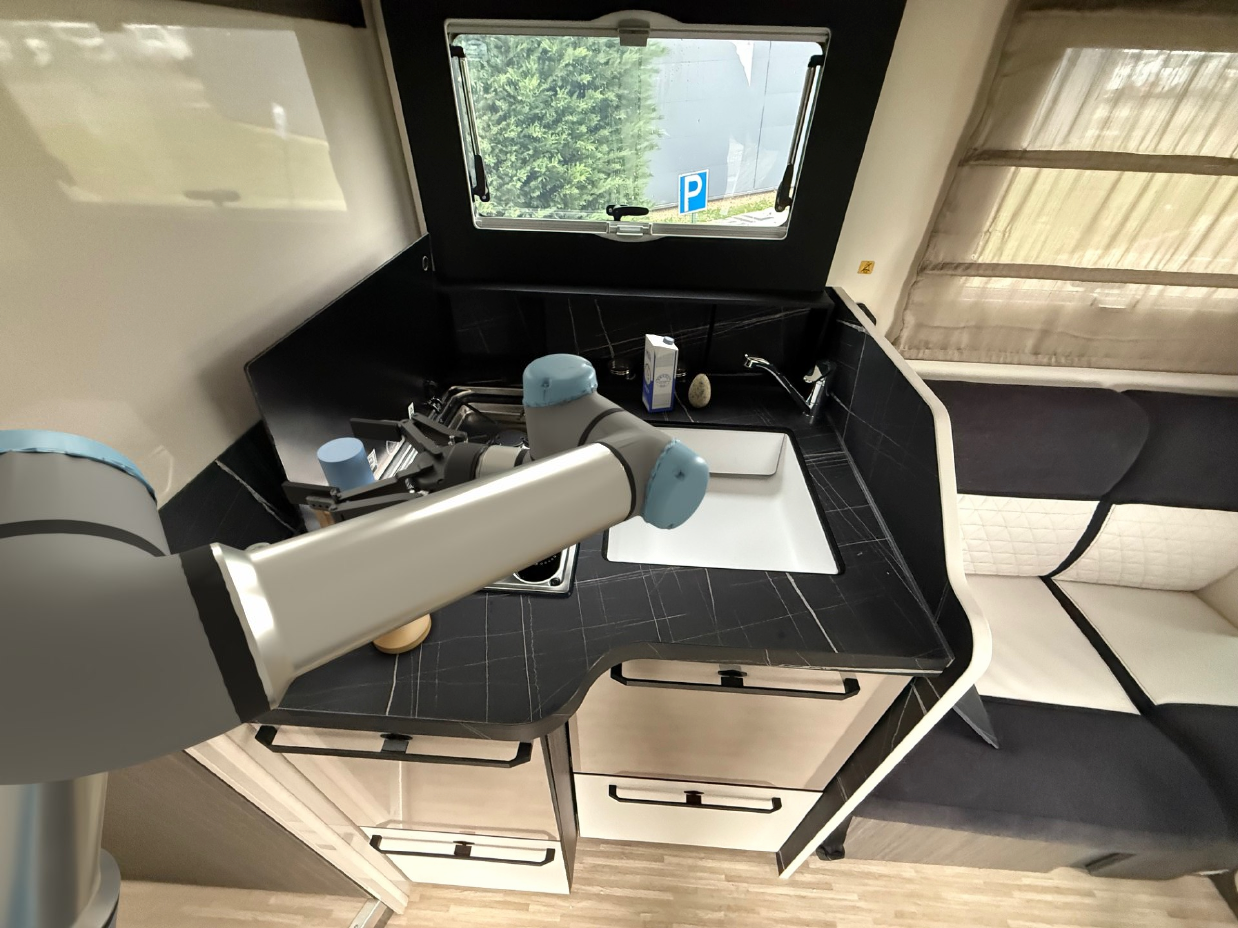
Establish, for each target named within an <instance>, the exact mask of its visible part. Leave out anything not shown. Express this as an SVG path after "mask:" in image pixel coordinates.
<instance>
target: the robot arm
mask: <svg viewBox="0 0 1238 928" xmlns="http://www.w3.org/2000/svg"><path fill="white" fill-rule="evenodd" d="M522 383H523V384H522V387H523V388H522V389H523V390H522V391H523V398H522V406H523V410H524V417H525V425H526V432H527V439H528V446H529V448H524V447H516V446H507V445H498V444H493V445H490V446H489V445H487V444H485V443H478V442H477V443H476V442H469V439H468V434H467V432H466V431H462V430H456V429H452V428H450V427H448V426H446V425H444V424H442V423H440V422H438V421H436V420H434V419H431V418H429V417H428V416H426V415H424V414H421V413H419V412H413V413H411V414H410V418H409V419H408V418H406V419H405V418H404V419H401V420H400V421H399V420H388V419H382V420H377V419H367V418H358V417H351V418H350V419H349V420H348V423H349V425H350V428H351V431H352V434H353V438H356V439H363V440H364V439H365V440H374V441H385V442H392V443H393V442H394V443H401V442H402V440H404V442H405V443H408V444H409V445H410V446H411V447H412V448H413V449H414V451H416V452H417V453H416V455H415V456H414V459H413V461H412V462H411V463H409V464H408V465H407V466H406V467H405V469H401V470H398V471H396V472H395V474H394V475H393V476H390V477H387V478H384V479H379V480H380V481H377V482H374V483H370V484H367V485H364V486H360V487H357V488H354V489H351V490H347V491H344V492H341V491H340V489H339V487H332V486H328V485H322V484H315V483H313V484H312V483H305V482H298V481H290V480H289V481H288V480H285V481H284V482H283V483H282V484H281V487H282V490H283V492H284V495H286V497H287V500H288V502H289V503H290V504H294V505H295V504H296V505H303V506H309V508H310V509H311V510H313V511H314V510H320V511H321V510H322V511H328V512H329V513H330V515H331V518H332V520H333V522H334V525H331V526H328V527H325V528H319V529H316V530H312V531H310V532H306V533H303V534H299V535H296V536H294V537H291V538H287V539H284V540H281V541H278V542H275V543H272V544H270V545H268V546H265V547H262V548H259V549H256V550H253V551H245V550H242V549H238V548H235V547H233V546H230V545H227V544H223V543H220V542H213V543H210V544H205V545H202V546H199V547H195V548H192V549H189V550H186V551H185V550H184V551H182V552H179V553H174V554H172V553H171V551H170V547H169V544H168V541H167V537H166V534H165V531H164V528H163V524H162V520H161V517H160V514H159V510H158V498H157V496H156V490H155V489H154V487H152V486H151V484H150V482H149V480H148V479H147V478H146V477H145V475H144V474H143V472H142V471H141V469H140V468H139V467H138V466H137V465H136V464H135V463H134V462H133V461H132V460H131V459H130V458H128V457H127V456H125V455H124V454H122V453H121V452H119V451H118V450H116V449H114V448H112V447H111V446H109V445H107V444H105V443H102V442H100V441H97V440H94V439H93V438H92V439H91V438H88V437H86V436H82V435H78V434H73V433H69V432H63V431H57V430H48V429H36V428H35V429H32V428H31V429H30V428H28V429H27V428H23V429H22V428H19V429H18V428H17V429H16V428H15V429H1V430H0V928H117V919H118V911H119V902H120V894H121V893H120V891H121V884H122V881H121V880H122V876H121V871H120V868H119V865H118V863H117V861H116V859H115V857H114V856H113V855H112V854H111V853H110V852H109V851H108V850H106V849H105V848H102V847H101V846H102V837H103V829H104V828H103V827H104V818H105V809H106V808H105V807H106V797H107V788H108V780H109V779H108V777H109V772H112V771H116V770H120V769H125V768H129V767H130V768H131V767H133V766H137V765H140V764H144V763H147V762H150V761H153V760H156V759H160V758H163V757H165V756H169V755H172V754H175V753H178V752H181V751H185V750H188V749H190V748H192V747H196V746H198V745H200V744H203V743H205V742H207V741H210V740H212V739H215V738H217V737H219V736H221V735H224V734H227V733H228V732H230V731H233V730H234V729H237V728H238V727H240V726H242V725H245V724H246V723H248V722H251V721H252V720H254V719H256V718H259V717H260V716H262V715H264V714H266V713H268V712H270V711H272V710H275V709H276V708H278V707H279V706H280V704H281V702H282V700H283V698H284V697H285V695H286V693H287V691H288V690H289V687H290V685H291V684H292V683H293V682H294V680H296V678H298V677H300V676H302V675H304V674H306V673H308V672H310V671H312V670H314V669H316V668H319V667H320V666H323V665H325V664H327V663H329V662H331V661H333V660H335V659H338V658H339V657H342V656H344V655H345V654H348V653H350V652H352V651H354V650H356V649H359V648H361V647H363V646H365V645H367V644H370V643H371V642H373V640H375V639H378V638H380V637H382V636H384V635H386V634H388V633H390V632H392V631H394V630H396V629H399V628H401V627H403V626H405V625H407V624H409V623H411V622H413V621H415V620H417V619H420V618H422V617H424V616H426V615H428V614H429V615H430V614H432V613H434V612H436V611H438V610H440V609H443V608H445V607H447V606H450V605H451V604H453V603H455V602H457V601H460V600H462V599H464V598H465V597H468V596H470V595H472V594H474V593H476V592H478V591H480V590H482V589H485V588H487V587H489V586H491V585H494V584H495V583H497V582H500V581H502V580H503V579H505V578H508V577H510V576H512V575H515V574H516V573H518V572H520V571H523V570H525V569H526V568H529V567H531V566H533V565H535V564H537V563H539V562H541V561H544V560H546V559H548V558H550V557H552V556H554V555H556V554H558V553H560V552H563V551H565V550H567V549H569V548H572V547H573V546H575V545H578V544H580V543H582V542H584V541H586V540H588V539H590V538H592V537H594V536H596V535H598V534H601V533H602V532H605V531H607V530H609V529H611V528H613V527H615V526H617V525H619V524H622V523H624V522H627V521H629V520H632V519H634V518H636V517H641V519H642V520H643V521H644V522H645V523H646V524H650V525H652V526H654V527H655V528H657V529H660V530H668V531H670V530H673V529H677V528H678V527H680V526H682V525H683V524H684V523H686V522H687V521H688V520H689V519H691V517H692V516H693V515H694V514H695V513H696V511H698V509H699V507H700V506H701V504H702V502H703V501H704V498H705V496H706V493H707V490H708V486H709V482H710V469H709V465H708V463H707V461H706V460H705V459H704V458H703V456H701V455H700V454H698V453H697V452H695V450H692V449H691V448H689V446H687V445H685V444H684V443H682V441H681V440H680V439H679V438H677V437H672V436H670V435H669V434H667V433H665V432H664V431H662V430H660V429H658V428H656V427H655V426H653V425H651V424H649V423H648V422H646V421H644V420H643V419H641V418H639V417H638V416H636V415H634V414H632V413H630V412H629V411H628V410H626V409H624V408H623V407H622V406H620V405H618V404H616V403H614V402H613V401H611V400H609V399H608V398H606V397H604V396H602V395H600V393H598V391H597V388H598V380H597V375H596V370H595V368H594V367H593V365H592V363H591V362H590V361H589V360H588V359H586V358H584V357H582V356H579V355H576V354H569V353H556V354H555V353H554V354H548V355H545V356H542V357H540V358H536V359H534V360H533V361H531V363H528V365H527V366H526V368H525V369H524V371H523V373H522ZM402 436H403V437H402ZM403 438H404V439H403ZM437 444H439V445H440V446H441V447H440V446H439V445H437ZM406 480H408V483H409V485H410V486H411V487H410V488H408V486H407V483H406ZM347 501H350V502H347Z"/></svg>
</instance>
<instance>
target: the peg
mask: <svg viewBox="0 0 1238 928" xmlns="http://www.w3.org/2000/svg"><path fill="white" fill-rule="evenodd" d="M316 457H317V460H318V463H319V465H320V468H321V469H322V472H323V474H324V477H325V479H326V481H327V484H328V485H329V486H332V487H339V489H340V491H341V492H344V491H347V490H351V489H354V488H357V487H360V486H364V485H367V484H370V483H374V482H376V481H375V480H376V478H375V476H374V473H373V470H372V467H371V464H370V461H369V458H368V455H367V452H366V449H365V447H364V444H363V442H362V441H361V440H360V439H359V438H355V437H339V438H336V439H332V440H330V441H328V442H326V443H324V444H323V445H321V446H320V447H319V449H318V450H317V451H316ZM347 502H350V501H347Z"/></svg>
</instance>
